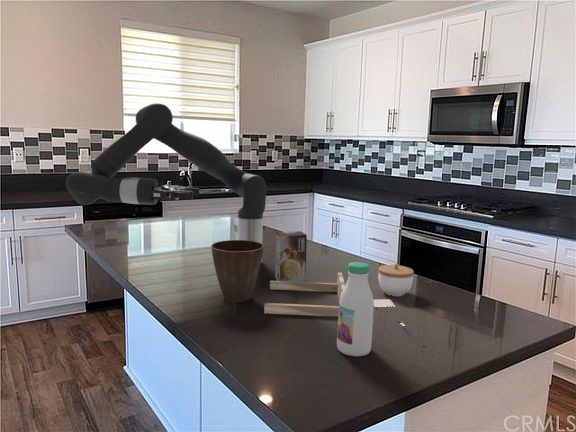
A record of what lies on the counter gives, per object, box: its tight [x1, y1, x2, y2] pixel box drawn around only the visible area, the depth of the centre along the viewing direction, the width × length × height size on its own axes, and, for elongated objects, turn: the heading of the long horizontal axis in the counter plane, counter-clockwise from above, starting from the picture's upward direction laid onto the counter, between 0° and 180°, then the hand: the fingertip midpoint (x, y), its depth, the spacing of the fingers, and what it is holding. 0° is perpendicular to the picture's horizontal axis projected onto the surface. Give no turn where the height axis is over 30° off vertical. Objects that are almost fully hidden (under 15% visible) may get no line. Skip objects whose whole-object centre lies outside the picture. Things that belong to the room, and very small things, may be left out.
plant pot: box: [211, 239, 265, 304], centre depth 134 cm, size 15×15×16 cm
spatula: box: [373, 298, 421, 342], centre depth 121 cm, size 6×29×2 cm, turn 9°
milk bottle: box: [336, 261, 375, 357], centre depth 103 cm, size 8×8×20 cm
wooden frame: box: [263, 272, 346, 317], centre depth 134 cm, size 21×22×6 cm
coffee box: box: [274, 231, 308, 282], centre depth 153 cm, size 9×6×16 cm
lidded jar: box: [377, 263, 415, 297], centre depth 143 cm, size 11×11×9 cm
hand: (196, 193), depth 132 cm, fingers open, 7 cm apart
